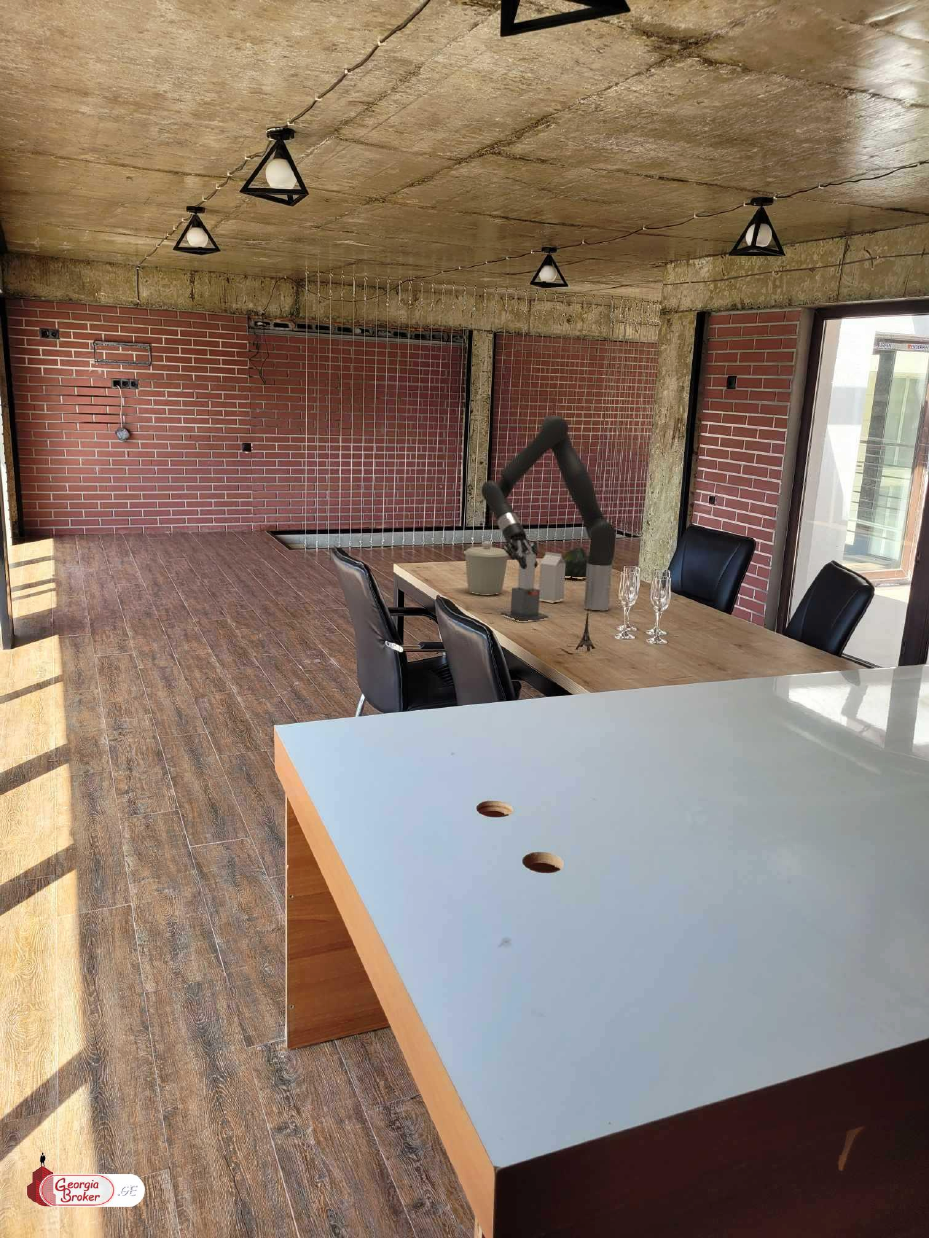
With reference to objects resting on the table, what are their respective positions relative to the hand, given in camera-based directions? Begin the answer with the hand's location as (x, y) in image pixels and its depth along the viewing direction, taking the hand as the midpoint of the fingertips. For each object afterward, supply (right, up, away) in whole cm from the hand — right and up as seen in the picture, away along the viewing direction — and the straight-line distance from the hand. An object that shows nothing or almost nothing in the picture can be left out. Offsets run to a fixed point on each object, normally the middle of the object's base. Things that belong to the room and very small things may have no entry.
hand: (530, 567), depth 323 cm
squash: (+25, 0, +88) cm, 91 cm away
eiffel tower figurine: (+14, -28, -35) cm, 47 cm away
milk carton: (+10, -11, +36) cm, 39 cm away
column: (-2, -11, +4) cm, 12 cm away
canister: (-15, -8, +47) cm, 50 cm away
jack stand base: (-2, -18, +6) cm, 19 cm away
